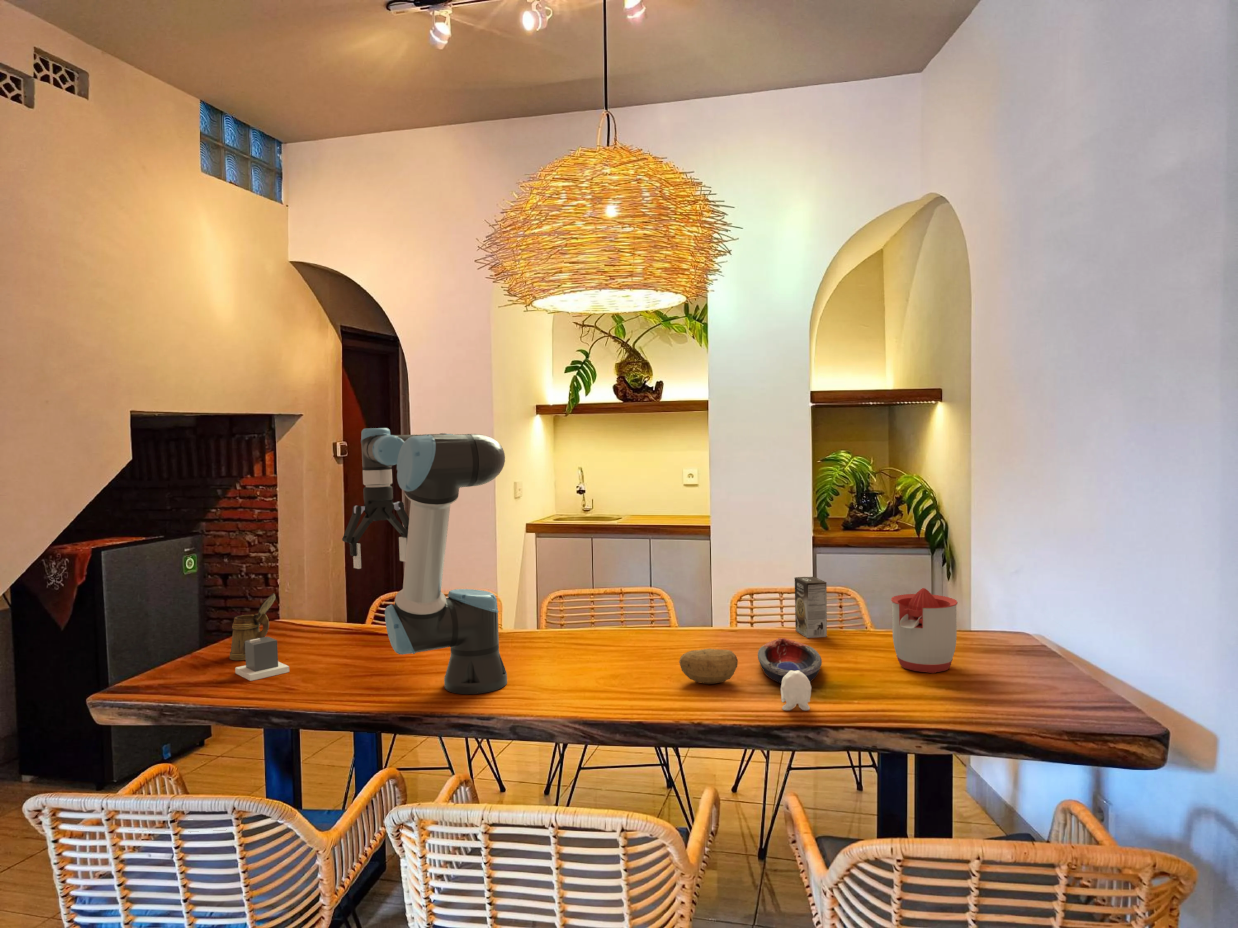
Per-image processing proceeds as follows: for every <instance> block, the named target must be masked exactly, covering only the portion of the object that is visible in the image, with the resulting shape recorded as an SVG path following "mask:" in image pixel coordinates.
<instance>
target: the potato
mask: <svg viewBox="0 0 1238 928" xmlns="http://www.w3.org/2000/svg"><path fill="white" fill-rule="evenodd" d="M678 662H679V666H680V669H681V671H682V673H683V674H684V675H685V676H686V677H687V678H688V679H690V680H692V681H694V682H695V683H699V684H703V685H714V684H715V685H716V684H719V683H723V682H726V681H727V680H730V679H731V678H732V677H733V675H735V672H736V670H737V669H738V662H739V661H738V658H737V655H736V654H735V653H734V652H733V651H732V650H729V649H715V648H704V649H696V650H690V651H687V652H685V653H683V654H682V655H681V656H680V659H679V661H678Z"/></svg>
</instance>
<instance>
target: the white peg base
mask: <svg viewBox="0 0 1238 928" xmlns="http://www.w3.org/2000/svg"><path fill="white" fill-rule="evenodd" d="M234 670H235V672H234V673H235V674H236V675H238V676H240V677H242V678H243V679H246V680H248V681H251V682H252V681H257V680H261V679H265V678H270V677H274V676H278V675H283V674H286V673H289V672H290V666H289V665H287V664H285V663H282V662H280V661H278V667H274V668H270V669H265V670H261V671H256V672H254V671H252V670H250V669H248V668H246V664H245V665H241V666H236V667H235V668H234Z"/></svg>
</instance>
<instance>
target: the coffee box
mask: <svg viewBox="0 0 1238 928" xmlns="http://www.w3.org/2000/svg"><path fill="white" fill-rule="evenodd" d="M827 585H828V584H827V581H825V580H822V579H819V578H818V577H816V576H797V577H794V615H795V616H794V617H795V620H794V621H795V632H797V633H799V634H801V635H802V636H803V637H805V638H806V639H813V638H827V637H828V635H827V634H828V632H827V631H828V627H827V626H828V625H827V623H828V622H827V621H828V619H827V618H828V615H827V613H828V611H827V610H828V609H827V607H828V606H827V605H828V603H827V602H828V601H827V599H828V596H827V591H828V589H827V588H828V587H827Z"/></svg>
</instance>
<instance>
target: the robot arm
mask: <svg viewBox="0 0 1238 928" xmlns="http://www.w3.org/2000/svg"><path fill="white" fill-rule="evenodd" d="M360 438H361V439H360V444H361V460H362V461H361V462H362V463H361V464H362V485H364V487H363V490H362V491H363V501H364V504H363V506H361V505H353V506H352V513H351V517H350V519H349V521H348V524H347V526H346V529H345V531H344V534H343V536H342V539H341V540H342V542H345V543H348V544H349V555H350V556H352V560H353V562H352V563H353V569H357V570H360V569H362V556H361V555H362V553H361V549H362V548H361V543H360V542H359V541H360V540H361V538H362V536H363V534H364V533H365V531H367V529H368V528H369V526H370V525H371V524H372V523H373V522H380V521H387V522H389V523H390V524H391V525H392V527H393V528H394V529H395V530H396V531H397V532H398V533H399V535H400V536H399V537H398V549H399V552H398V553H399V562H404V573H403V583H402V589H401V590H399V591H398V592H397V593H396V595H395V597H394V598H395V599H394V604H389V605H387V606H386V607H385V609H384V620H385V626H386V627H385V628H386V632H387V636H388V639H389V642H390V645H391V647H392V649H393V650H394V652H395V653H396V654H397V655H411V654H413V655H415V654H416V653H421V652H423V653H424V652H428V651H434V650H440V649H445V648H446V649H447V648H450V657H449V661H448V663H447V668H446V671H445V675H444V677H443V678H444V681H443V683H444V689H445V690H446V691H447V692H449V693H454V694H459V695H479V694H486V693H491V692H494V691H497V690H499V689H502V688H504V687H506V685H507V684H508V673H507V670H506V667H505V665H504V662H503V660H502V657H501V654H500V641H499V639H500V637H499V612H500V611H499V610H498V608H499V607H498V600H497V599H498V598H497V596H496V595H495V594H494V593H493V592H490V591H487V590H480V589H474V588H473V589H471V588H470V589H469V588H457V589H450V590H448V591H449V592H448V594H447V597H446V595H445V594H444V593H443V592H442V584H443V575H444V574H443V573H444V566H445V559H446V558H445V556H446V549H447V537H448V529H449V520H450V511H451V504H453V503H456V501H457V500H458V499H459V493H460V488H470V487H477V486H481V485H482V486H483V485H485V484H486V485H487V484H488V483H490V482H492V481H493V480H494V479H496V478H497V477H498V476H499V475H500V473H502V471H503V468H504V467H505V462H506V454H505V450H504V448H503V447H502V445H501V443H500V442H499V441H497V440H496V439H495V438H493V437H491V436H488V435H485V434H480V433H479V434H478V433H466V434H463V433H462V434H458V433H457V434H456V433H455V434H453V433H445V432H444V433H443V432H442V433H429V434H427V433H425V434H391V430H390V429H389V428H388V427H378V428H376V427H375V428H374V427H373V428H372V427H370V428H363V429H362V430H361V437H360ZM393 466H396V471H397V473H396V479H397V485H398V486H399V488H400V489H401V490H402V491H404V492H403V493H404V495H405V497H406V498H407V500H409V501H410V506H409V507H410V508H409V516H408V514H407V512H406V510H405V503H404V501H397V500H396V501H395V502H393V499H394V494H393V493H394V489H393V488H394V487H393V486H392V484H393V468H392V467H393ZM394 510H395V511H396V513H397V515H398V517H399V520H400V521H401V522H400V521H399V520H398V518H396V517H397V516H396V515H395V514H393V511H394ZM363 513H365V515H364V516H363V518H362V519H361V517H362V514H363ZM360 519H361V522H360V523H359V521H360ZM358 524H359V525H358ZM358 542H359V543H358Z"/></svg>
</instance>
